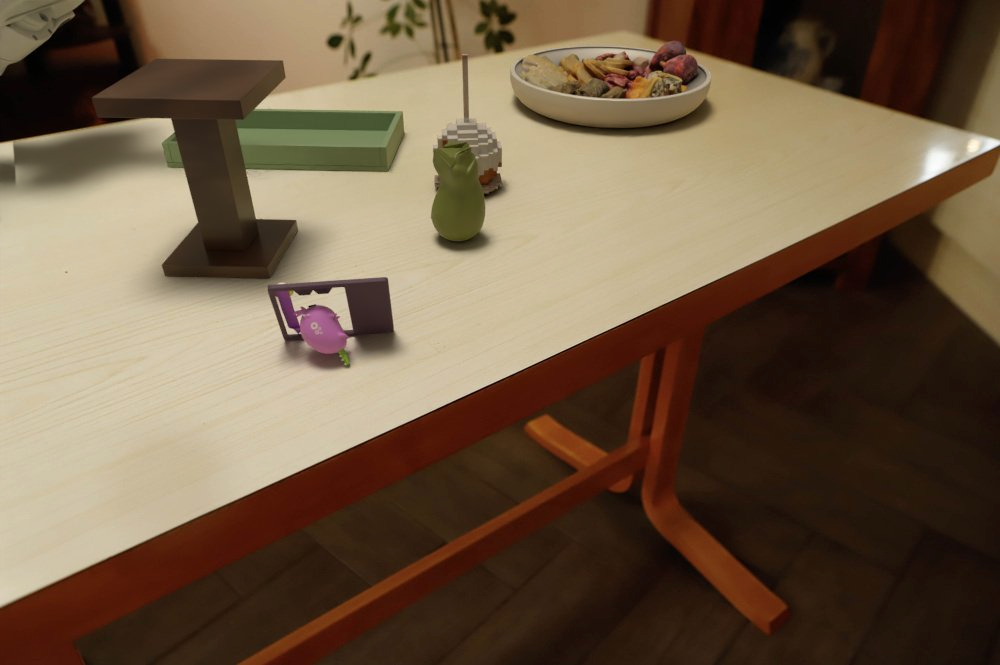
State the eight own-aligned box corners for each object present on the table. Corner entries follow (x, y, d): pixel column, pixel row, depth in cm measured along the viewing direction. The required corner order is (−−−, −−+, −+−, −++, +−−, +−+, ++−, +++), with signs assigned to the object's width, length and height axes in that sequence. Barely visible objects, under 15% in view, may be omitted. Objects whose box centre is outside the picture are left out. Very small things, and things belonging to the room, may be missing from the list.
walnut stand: (149, 281, 67) (90, 97, 57) (198, 223, 77) (155, 58, 67) (277, 284, 67) (239, 100, 57) (310, 225, 77) (283, 60, 67)
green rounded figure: (494, 242, 74) (494, 147, 68) (449, 255, 71) (445, 158, 66) (466, 221, 78) (464, 130, 72) (423, 233, 75) (417, 140, 70)
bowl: (583, 150, 95) (588, 90, 90) (475, 91, 116) (474, 39, 112) (748, 114, 107) (760, 59, 103) (623, 66, 128) (628, 19, 124)
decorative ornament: (434, 174, 88) (427, 46, 79) (497, 172, 89) (498, 44, 80) (435, 201, 82) (428, 65, 73) (503, 199, 82) (504, 63, 74)
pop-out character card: (387, 269, 56) (267, 277, 55) (390, 323, 53) (263, 333, 52) (393, 321, 61) (284, 329, 60) (396, 373, 58) (282, 382, 57)
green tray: (167, 167, 90) (161, 143, 88) (208, 129, 101) (203, 107, 99) (388, 171, 89) (385, 147, 87) (404, 133, 100) (402, 111, 98)
